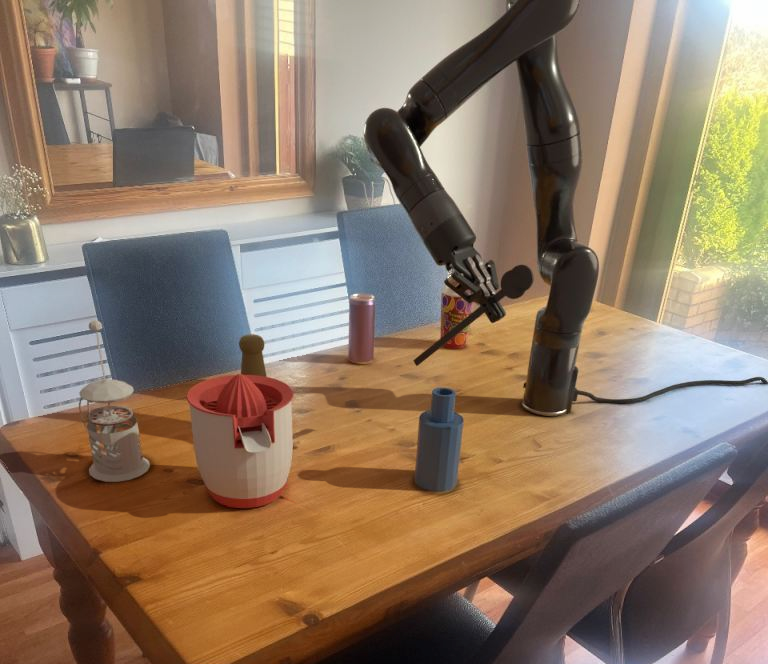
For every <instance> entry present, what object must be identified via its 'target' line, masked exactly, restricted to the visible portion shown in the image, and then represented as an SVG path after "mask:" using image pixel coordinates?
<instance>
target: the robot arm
mask: <svg viewBox="0 0 768 664" xmlns="http://www.w3.org/2000/svg"><path fill="white" fill-rule="evenodd" d="M580 4H581V0H505V12H504V14H503V15H501V16H500V17H499V18H498V19H497V20H496V21H494V23H492V24H491V25H490V26H489V27H487V28H486V29H485V30H483V31H482V32H480V33H479V34H477V35H475V37H473V38H472V39H471V40H469V41H467V42H466V43H464V44H463V45H461V46H459V47H458V48H457V49H455V50H454V51H452V52H450V53H449V54H448V55H447V56H445V57H444V58H442V59H441V60H440V61H438V62H437V64H435V65H434V66H433V67H432V68H431V69H430V70H429V71H427V72H426V74H424V75H423V76H422V77H421V78H419V80H417V81H416V82H415V83H414V84H413V85H412V86H411V88H409V90H408V92H407V94H406V98H405V101H404V103H403V104H402V106H401V107H400V108H399V109H398V110H395V109H393V108H390V107H380V108H376V109H375V110H374V111H372V112H371V113H370V114H369V115H368V116H367V118H366V119H365V120H366V121H365V123H364V126H363V140H364V145H365V148H366V152H367V156H368V158H369V160H370V162H371V163H372V164H373V166H374V167H375V168H377V169H379V170H382V171H384V173H385V175H386V176H387V178H388V180H389V181H390V183H391V187H392V190H393V192H394V194H395V197H396V198H397V201H398V202H399V204H400V205H401V207H402V209H403V210H404V212H405V213H406V215H407V216H408V218H409V220H410V222H411V224H412V226H413V229H414V230H415V232H416V234H417V236H418V237H419V239H420V240H421V242H422V244H423V245H424V246H425V248H426V250H427V251H428V253H429V254H430V256H431V258H432V259H433V261H434V263H435V264H436V265H437V266H439V267H440V266H441V267H442V266H445V269H446V271H447V273H448V276H447V277H446V278H445V279H444V280H443V283H444V285H446V286H448V287H449V288H450V289H452V290H453V291H454V292H455V293H457V294H458V295H459V296H461V297H462V298H463V299H464V300H466V301H467V302H468V303H470V304H471V303H472V302H474V304H475V305H478V306H479V307H480V306H481V308H482V309H483V311H484V312H485V313H484V314H485V316H486V317H487V319H488V320H489V322H490V323H491V324H494V323H496V322H499V321H500V320H502V319H503V318H504V317H505V316H507V313H506V310H505V309H504V307H503V305H502V304H501V302H500V301H499V302H497V303H495V301H494V300H493V298H492V296H494V295H495V294H496V293H497V291H498V290H499V289H500V284H499V279H498V274H497V268H496V263H495V261H494V260H493V259H489V260H488V261H486V260H483V258H482V255H481V254H480V253H479V252H478V251H477V249H475V246H474V244H475V243H476V241H477V235H476V234H475V232H474V230H473V228H472V227H471V225H470V224H469V222H468V221H467V219H466V217H465V215H464V214H463V213H462V211H461V210H460V208H459V207H458V205H457V203H456V202H455V201H454V199H453V198H452V197H451V196H450V194H449V193H448V192H447V190H446V189H445V187H444V185H443V184H442V182H441V181H440V179H439V178H438V176H437V175H436V173H435V172H434V171H433V169H432V167H431V166H430V165H429V163H428V161H427V160H426V157H425V155H424V153H423V151H422V149H421V147H422V145H423V144H424V143H425V142H426V141H427V139H428V138H429V137H430V136H431V134H432V133H433V132H434V131H435V129H436V128H437V127H438V126H440V125H441V124H442V123H444V122H445V121H446V120H447V119H448V118H450V116H452V115H453V114H454V113H455V112H456V111H458V109H460V108H461V107H462V106H463V105H464V104H465V103H467V101H469V100H470V99H471V98H472V97H473V96H474V95H475V94H477V93H478V92H479V91H480V90H481V89H482V88H483V87H484V86H486V85H487V84H488V83H489V82H490V81H492V80H493V79H494V78H495V77H496V76H498V75H499V74H500V73H502V72H503V71H504V70H505V69H507V68H508V67H509V66H510V65H512V64H513V63H514V62H515V64H516V70H517V76H518V82H519V92H520V101H521V110H522V117H523V126H524V135H525V136H524V139H525V147H526V154H527V164H528V170H529V177H530V185H531V192H532V201H533V206H534V207H533V208H534V212H535V224H536V226H535V227H536V263H537V265H536V266H537V270H538V271H537V272H538V274H539V277H540V278H541V280H542V281H543V282H544V283H545V284H546V285H547V286H548V287H550V289H549V293H548V299H547V303H546V305H545V306H543V307H541V308H539V309H538V310H537V312H536V314H535V321H534V327H533V334H532V341H531V345H530V346H531V347H530V352H529V360H528V365H527V366H528V367H527V372H526V379H525V382H524V383H523V386H522V389H523V390H524V391H523V397H522V398H523V399H522V401H521V406H522V408H523V409H524V410H525V411H527V412H529V413H531V414H534V415H538V416H542V417H543V416H544V417H557V416H562V415H565V414H569V413H571V412H572V407H573V402H577V400H578V396H583V397H587V398H589V399H590V400H592V401H594V402H597V403H603V404H633V403H640V402H645V401H647V400H649V399H651V398H654V397H657V396H659V395H662V394H664V393H667V392H669V391H672V390H673V391H674V390H676V389H680V388H684V387H689V386H691V387H692V386H701V385H727V386H728V385H729V386H730V385H734V386H735V385H736V386H737V385H740V386H741V385H746V384H750V383H754V382H761V383H763V384H764V385H768V380H767V379H766V378H765V377H762V376H754V377H751V378H748V379H742V380H722V379H708V380H706V379H705V380H703V379H702V380H692V381H687V382H680V383H676V384H671V385H669V386H666V387H663V388H662V389H659V390H655V391H653V392H651V393H649V394H646V395H644V396H640V397H633V398H603V397H598V396H595V394H593V393H591V392H589V391H585V390H579V389H578V388H577V387H576V385H577V380H578V374H579V367H578V366H577V365H576V364H577V358H578V353H579V349H580V343H581V338H582V332H583V327H584V323H585V321H586V320H587V318H588V316H589V315H590V312H591V309H592V304H593V301H594V296H595V293H596V288H597V284H598V280H599V273H600V261H599V257H598V255H597V253H596V252H595V250H594V249H592V248H591V247H589V246H587V245H586V244H583V243H582V242H579V240H578V236H577V232H576V231H577V230H576V223H575V216H574V213H575V212H574V205H575V197H576V194H577V190H578V186H579V182H580V178H581V175H582V168H583V145H582V133H581V125H580V119H579V114H578V112H577V107H576V105H575V103H574V100H573V98H572V96H571V93H570V91H569V88H568V86H567V84H566V81H565V78H564V76H563V72H562V70H561V65H560V61H559V60H560V59H559V52H558V38H557V35H558V34H559V33H560V32H562V31H563V30H565V29H566V28H568V26H570V24H571V23H572V21H574V19H575V17H576V15H577V13H578V11H579V8H580ZM469 294H470V295H469ZM760 380H761V381H760Z"/></svg>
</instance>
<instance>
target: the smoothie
mask: <svg viewBox="0 0 768 664" xmlns="http://www.w3.org/2000/svg"><path fill="white" fill-rule="evenodd" d="M440 292H441V296H440V297H441V299H440V302H441V303H440V305H441V306H440V336H439V337H440V338H442V337H443V336H444V335H445V334H447V333H448V332H449V331H450V330H451V329H453V328H454V327H455V326H456V325H458V324H459V323H460V322H461V321H463V320H464V319H465V318H466V317H468V316H469V315H470V314H471V313H473V307H474V304H475V302H472V303H471V304H470V303H468V302H467V301H466V300H464V299H463V298H462V297H461V296H459V295H458V294H457V293H455V292H454V291H453V290H452V289H450V288H449V287H448V286H446V285H445V284H444V285H443V287H442V288H441V290H440ZM469 295H470V294H469ZM470 326H471V324H470V325H468V326H467V327H466V328H465V329H463V330H462V331H461V332H460V333H458V334H457V335H456V336H455V337H453V338H452V339H451V340H449V341H448V342H447V343H446V344H444V345H443V346H442V347H445V348H447V349H451V350H460V349H463V348H464V347H465V345H466V343H467V342H468V338H469V332H470ZM440 338H439V339H440Z"/></svg>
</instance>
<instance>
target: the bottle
mask: <svg viewBox="0 0 768 664" xmlns="http://www.w3.org/2000/svg"><path fill="white" fill-rule="evenodd" d="M456 394H457V393H456V391H455V390H454V389H452V388H449V387H436V388H433V389H432V390H431V399H430V400H431V401H430V410H425V411H423V412H421V413H420V415H419V418H418V427H417V428H418V429H417V431H418V432H417V440H416V442H417V443H416V455H415V456H416V457H415V458H416V459H415V468H414V469H415V470H414V482H415V484H416V485H417V486H418V487H419V488H420V489H422V490H425V491H429V492H435V493H443V492H447V491H451V490H453V489H454V488H455V487H456V486H457V485H458V477H459V468H460V458H461V450H462V440H463V431H464V422H465V419H464V417H463V416H462V415H461V414H459V413H458V412H455V404H456V397H457V395H456Z"/></svg>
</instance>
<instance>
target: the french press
mask: <svg viewBox="0 0 768 664" xmlns="http://www.w3.org/2000/svg"><path fill="white" fill-rule="evenodd" d="M88 329H89V330H91V331H95V335H96V336H95V337H96V342H97V347H98V353H99V359H100V364H101V372H102V377H103V379H98V380H96V381H95V380H94V381H93V382H90V383H88V384H87V385H85V386H83V387H82V389H81V390H80V391H79V392H78V393H79V397H80V398H79V402H78V411H79V416H80V418H81V421H82V423H83V424H82V425H83V426H84V428H85V430H87V434H88V439H89V442H90V444H89V445H90V450H91V455H92V460H93V463H92V464H91V466H90V467H89V469H88V472H89V476H90V477H92V478H94V479H95V480H98V481H101V482H107V483H108V482H109V483H111V482H112V483H119V482H125V481H131V480H133V479H136V478H139V477H141V476H142V475H144V474H145V473H147V472H148V471H149V469H150V467H151V464H150V461H149V460H148V459H146V458H145V457H144V456H143V451H142V444H141V437H140V430H139V424H138V420H137V418H136V417H135V416H134V415H135V412H134V410H133V409H131V408H129V406H128V407H127V406H122V405H111V404H110V403H117V402H121V401H124V400H127V399H128V398H130V397H131V396H132V395H133V394H134V387H133V386H132V385H131V384H128V383H127V382H125V381H123V380H118V379H107V378H106V374H105V369H104V368H105V367H104V362H103V357H102V350H101V346H100V340H99V334H98V331H99V330H101V329H103V324H102V323H101V322H100V321H99V320H96V319H95V320H91V321H90V322H88ZM82 400H85V401H86V405H87V406H86V407H87V411H88V414H87V416H86V419H87V421H88V422H87V424H86V422H85V420H84V416H83V413H82V409H81V405H82ZM92 403H95V404H107V406H103V407H97V408H95V409H94V410H91V408H90V404H92ZM128 422H131V423H132V424H130V423H128ZM98 426H99V427H98ZM121 428H128V429H124V430H119V429H121ZM117 430H119V431H117ZM98 431H99V432H98ZM100 444H102V445H103V447H102V446H101V445H100ZM102 452H103V453H102Z"/></svg>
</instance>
